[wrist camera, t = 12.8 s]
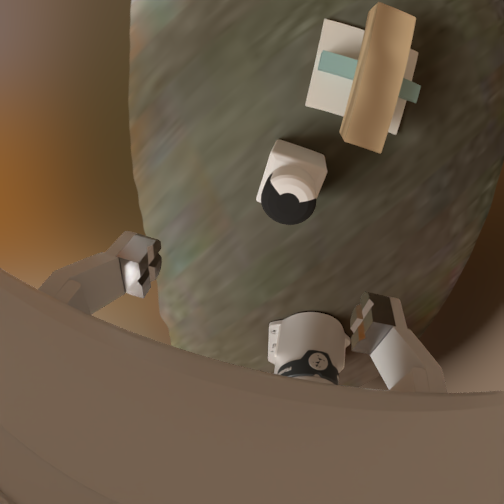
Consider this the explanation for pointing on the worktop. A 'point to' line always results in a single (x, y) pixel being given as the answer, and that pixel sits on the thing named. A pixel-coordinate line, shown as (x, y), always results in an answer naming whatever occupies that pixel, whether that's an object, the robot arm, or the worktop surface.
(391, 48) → the batten
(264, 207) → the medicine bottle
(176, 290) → the worktop surface
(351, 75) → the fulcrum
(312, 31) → the worktop surface
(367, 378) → the worktop surface
